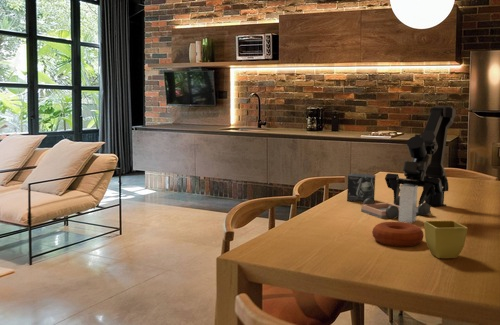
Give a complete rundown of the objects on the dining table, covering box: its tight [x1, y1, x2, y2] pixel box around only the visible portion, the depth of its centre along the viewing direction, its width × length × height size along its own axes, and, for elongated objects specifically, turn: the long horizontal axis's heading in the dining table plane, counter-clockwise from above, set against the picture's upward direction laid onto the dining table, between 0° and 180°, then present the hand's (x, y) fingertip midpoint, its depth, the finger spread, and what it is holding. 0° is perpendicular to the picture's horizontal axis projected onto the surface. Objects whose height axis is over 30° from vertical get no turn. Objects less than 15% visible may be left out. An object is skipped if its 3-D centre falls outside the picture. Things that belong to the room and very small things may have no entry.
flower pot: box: [423, 220, 468, 259], centre depth 155 cm, size 9×9×9 cm
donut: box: [371, 221, 425, 248], centre depth 170 cm, size 15×15×5 cm
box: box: [346, 173, 376, 203], centre depth 230 cm, size 11×7×10 cm, turn 74°
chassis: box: [360, 195, 432, 220], centre depth 209 cm, size 22×15×4 cm
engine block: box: [398, 184, 419, 224], centre depth 195 cm, size 4×4×12 cm
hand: (406, 202), depth 194 cm, fingers open, 8 cm apart
